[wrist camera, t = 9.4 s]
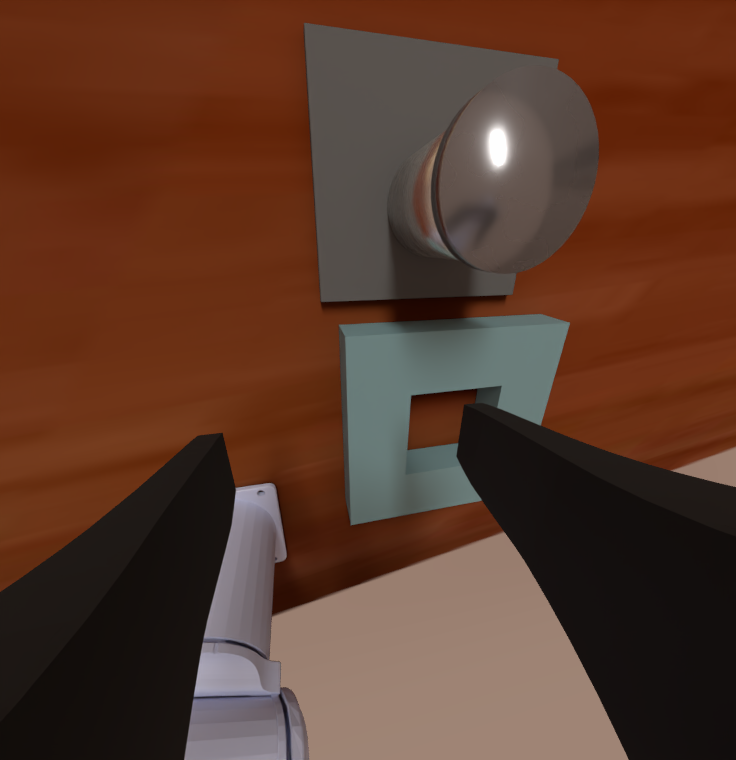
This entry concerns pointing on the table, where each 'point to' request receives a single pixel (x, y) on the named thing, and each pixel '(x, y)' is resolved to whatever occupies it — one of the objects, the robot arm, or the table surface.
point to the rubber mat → (386, 154)
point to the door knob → (501, 175)
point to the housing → (431, 375)
